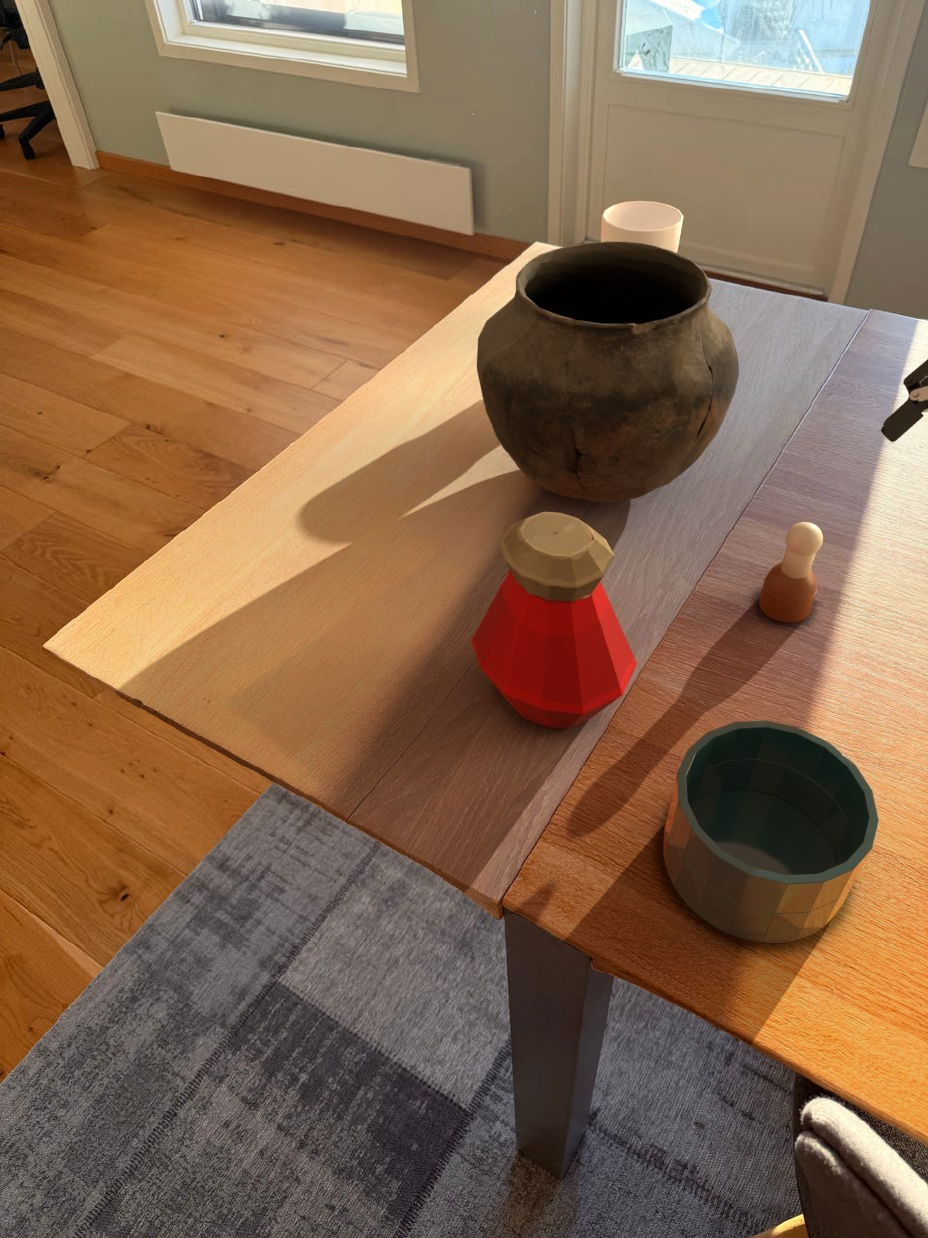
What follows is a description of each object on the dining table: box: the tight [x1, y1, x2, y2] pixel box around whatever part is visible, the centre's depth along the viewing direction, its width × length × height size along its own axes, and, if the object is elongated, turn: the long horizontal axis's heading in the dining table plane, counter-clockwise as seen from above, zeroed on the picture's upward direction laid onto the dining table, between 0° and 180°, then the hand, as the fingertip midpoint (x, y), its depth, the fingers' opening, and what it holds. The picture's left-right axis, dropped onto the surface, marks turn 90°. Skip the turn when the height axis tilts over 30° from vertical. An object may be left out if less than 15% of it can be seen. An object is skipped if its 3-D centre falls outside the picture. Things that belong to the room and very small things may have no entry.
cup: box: [600, 200, 684, 253], centre depth 133 cm, size 11×11×17 cm
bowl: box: [662, 720, 880, 944], centre depth 71 cm, size 14×15×9 cm
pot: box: [476, 241, 740, 503], centre depth 104 cm, size 29×32×25 cm
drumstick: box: [758, 521, 824, 624], centre depth 91 cm, size 5×5×11 cm
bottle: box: [470, 511, 638, 731], centre depth 80 cm, size 16×14×20 cm
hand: (913, 460), depth 86 cm, fingers open, 8 cm apart
